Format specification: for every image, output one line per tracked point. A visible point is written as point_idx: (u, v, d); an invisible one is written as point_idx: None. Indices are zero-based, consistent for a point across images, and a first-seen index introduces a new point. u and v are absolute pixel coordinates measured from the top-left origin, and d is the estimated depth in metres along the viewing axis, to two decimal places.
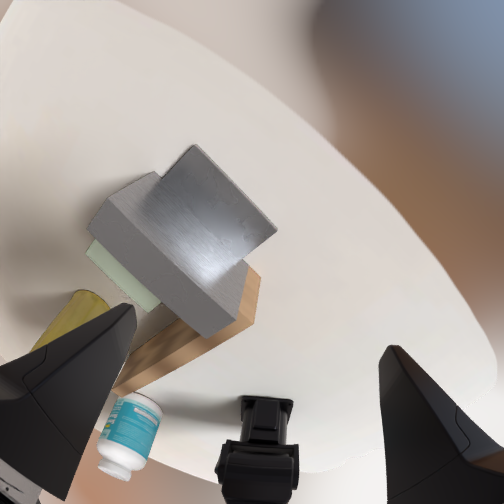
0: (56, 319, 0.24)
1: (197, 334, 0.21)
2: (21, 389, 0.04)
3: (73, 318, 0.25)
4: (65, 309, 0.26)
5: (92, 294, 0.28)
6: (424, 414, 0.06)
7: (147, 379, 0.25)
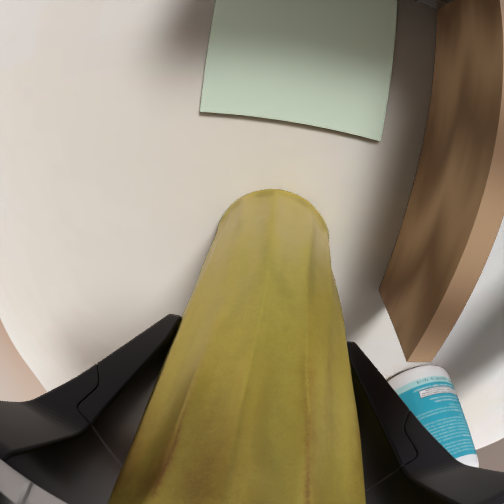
0: (204, 266, 0.11)
1: (495, 7, 0.04)
2: (79, 421, 0.04)
3: (246, 228, 0.11)
4: (215, 243, 0.12)
5: (255, 192, 0.14)
6: (369, 417, 0.06)
7: (491, 225, 0.08)
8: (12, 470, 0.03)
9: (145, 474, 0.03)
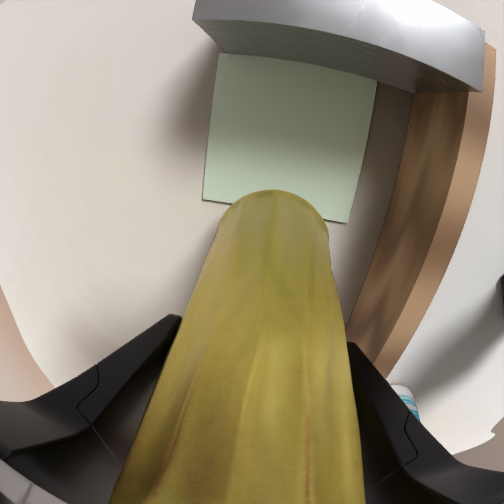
0: (204, 266, 0.11)
1: (460, 122, 0.09)
2: (78, 421, 0.04)
3: (246, 229, 0.11)
4: (215, 243, 0.12)
5: (255, 193, 0.14)
6: (369, 417, 0.06)
7: (421, 306, 0.13)
8: (12, 470, 0.03)
9: (145, 474, 0.03)
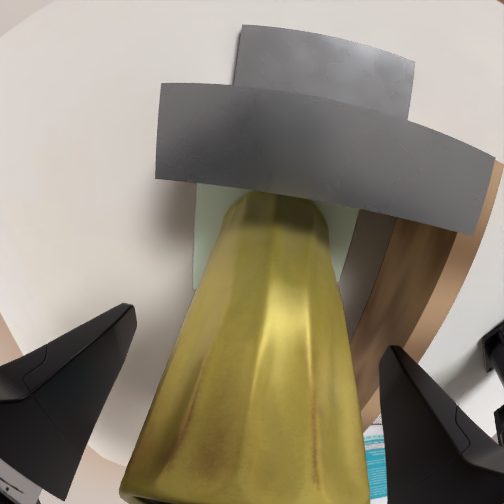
0: (209, 260, 0.12)
1: (444, 254, 0.10)
2: (21, 389, 0.04)
3: (250, 223, 0.11)
4: (219, 238, 0.13)
5: None
6: (424, 414, 0.06)
7: None
8: None
9: (160, 450, 0.04)
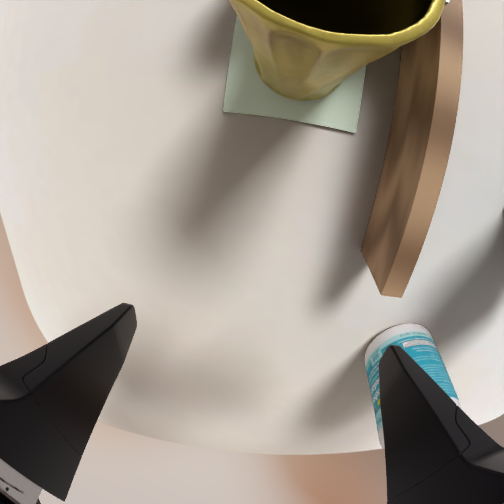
0: None
1: (438, 29, 0.09)
2: (21, 389, 0.04)
3: None
4: None
5: None
6: (424, 414, 0.06)
7: (433, 186, 0.13)
8: None
9: None
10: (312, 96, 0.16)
